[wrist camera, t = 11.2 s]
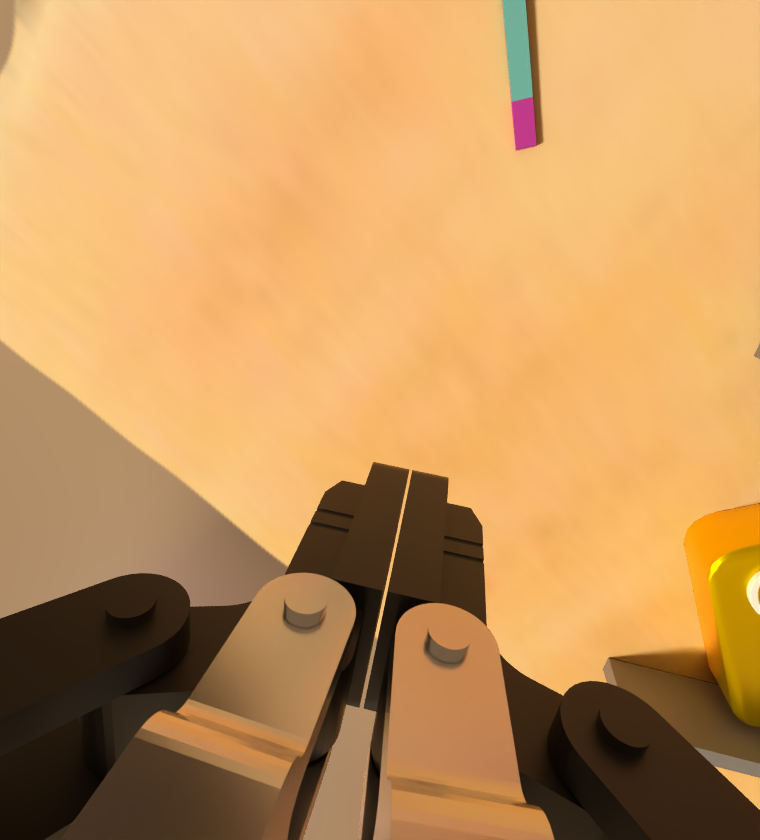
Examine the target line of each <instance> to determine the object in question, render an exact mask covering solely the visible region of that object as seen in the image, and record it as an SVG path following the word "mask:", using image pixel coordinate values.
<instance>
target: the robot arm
mask: <svg viewBox="0 0 760 840" xmlns="http://www.w3.org/2000/svg"><path fill="white" fill-rule="evenodd" d="M408 474H409V469H404V468H399V467H395V466H390V465H385V464H381V463H376V462H374V463H373V465H372V467H371V470H370V473H369V476H368V479H367V481H366V484H365V485H360V484H356V483H351V482H346V481H341V482H339V483H338V484H336V485H335V486H333V487H332V488H330V489H329V490H327V491H326V492H325V493H324V495H323V497H322V499H321V501H320V504H319V506H318V508H317V511H316V512H315V514H314V516H313V518H312V520H311V523H310V525H309V526H308V528H307V530H306V532H305V534H304V536H303V538H302V540H301V542H300V544H299V546H298V548H297V551H296V553H295V555H294V557H293V559H292V561H291V563H290V565H289V567H288V569H287V571H286V573H285V575H284V576H281V577H278V578H276V579H274V580H272V581H271V582H269V583H267V584H266V585H265V586H264V587H262V588H261V590H260V591H259V592H258V594H257V595H256V596H255V598H254V599H253V601H251V602H248V603H244V604H239V605H231V606H205V607H190V599H189V596H188V594H187V592H186V590H185V589H184V588H183V587H182V586H181V585H180V584H179V583H177V582H176V581H175V580H172V579H170V578H168V577H165V576H162V575H156V574H145V573H140V574H130V575H125V576H120V577H117V578H114V579H111V580H108V581H105V582H102V583H99V584H96V585H94V586H91V587H88V588H85V589H82V590H79V591H77V592H74V593H72V594H68V595H66V596H63V597H60V598H57V599H54V600H52V601H49V602H46V603H43V604H40V605H37V606H34V607H32V608H29V609H26V610H23V611H20V612H18V613H15V614H12V615H9V616H7V617H4V618H1V619H0V840H303V838H304V835H305V831H306V829H307V826H308V823H309V820H310V817H311V813H312V811H313V808H314V805H315V801H316V798H317V796H318V792H319V789H320V786H321V783H322V780H323V777H324V774H325V771H326V768H327V765H328V762H329V759H330V756H331V751H332V746H333V744H334V743H335V741H336V739H337V737H338V735H339V731H340V728H341V724H342V720H343V715H344V711H345V707H346V704H347V705H351V706H355V707H360V702H361V697H362V693H363V688H364V683H365V678H366V674H367V669H368V665H369V660H370V655H371V651H372V646H373V641H374V637H375V632H376V627H377V623H378V618H379V613H380V609H381V604H382V599H383V595H384V590H385V585H386V581H387V576H388V571H389V567H390V562H391V557H392V552H393V547H394V543H395V538H396V533H397V528H398V523H399V518H400V513H401V508H402V503H403V498H404V493H405V488H406V484H407V479H408ZM447 495H448V478H447V477H442V476H438V475H433V474H428V473H424V472H419V471H414V470H412V475H411V480H410V485H409V490H408V495H407V500H406V504H405V509H404V514H403V519H402V524H401V529H400V534H399V538H398V543H397V548H396V553H395V558H394V563H393V568H392V572H391V577H390V582H389V587H388V592H387V597H386V602H385V607H384V611H383V616H382V621H381V626H380V631H379V636H378V641H377V646H376V650H375V656H374V660H373V665H372V670H371V675H370V680H369V684H368V689H367V694H366V699H365V704H364V709H368V710H372V711H376V718H375V723H374V729H373V734H372V740H371V744H370V748H369V753H368V757H367V762H366V768H365V778H364V788H363V797H362V807H361V817H360V826H359V836H358V840H760V810H759V809H758V808H757V807H756V806H755V805H754V804H753V803H752V802H751V801H750V800H749V799H747V798H746V797H745V796H744V795H743V794H742V793H741V792H740V791H739V790H738V789H737V788H736V787H735V786H734V785H733V784H732V783H731V782H730V781H729V780H728V779H727V778H726V777H725V776H723V775H722V774H721V773H720V772H719V771H718V770H717V769H716V768H715V767H714V766H713V765H712V764H711V763H710V762H709V761H708V760H707V759H706V758H705V757H704V756H703V755H702V754H701V753H699V752H698V751H697V750H696V749H695V748H694V747H693V746H692V745H691V744H690V743H689V742H688V741H687V740H686V739H685V738H684V737H683V736H682V735H681V734H680V733H679V732H678V731H677V730H675V729H674V728H673V727H672V726H671V725H670V724H669V723H668V722H667V721H666V720H665V719H664V718H663V717H662V716H661V715H660V714H659V713H658V712H657V711H656V710H654V709H653V708H652V707H651V706H650V705H649V704H647V703H646V702H645V701H643V700H642V699H640V698H639V697H638V696H636V695H634V694H632V693H631V692H629V691H627V690H625V689H623V688H620V687H618V686H615V685H612V684H609V683H604V682H598V681H587V682H581V683H578V684H575V685H574V686H572V687H571V688H569V689H568V691H567V692H566V693H565V694H564V696H563V695H561V694H559V693H557V692H555V691H553V690H551V689H549V688H547V687H545V686H544V685H542V684H540V683H538V682H536V681H534V680H532V679H530V678H529V677H527V676H525V675H523V674H522V673H520V672H519V671H518V670H516V669H515V668H514V667H513V666H511V665H510V664H509V663H508V662H507V661H506V660H505V659H504V658H503V657H502V656H501V655H500V653H499V648H498V644H497V642H496V640H495V638H494V636H493V634H492V633H491V631H490V630H489V629H488V628H487V624H486V602H485V579H484V563H483V560H484V556H483V548H482V547H483V533H482V525H481V523H480V522H479V520H478V519H477V517H476V516H475V514H474V513H473V511H472V509H471V508H467V507H463V506H458V505H454V504H449V503H447Z"/></svg>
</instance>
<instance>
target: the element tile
mask: <svg viewBox="0 0 760 840" xmlns="http://www.w3.org/2000/svg"><path fill="white" fill-rule="evenodd" d="M684 547H685V552H686V557H687V562H688V567H689V572H690V577H691V582H692V587H693V592H694V597H695V602H696V606H697V611H698V616H699V621H700V626H701V631H702V636H703V641H704V646H705V651H706V656H707V661H708V665H709V667H710V669H711V671H712V673H713V675H714V677H715V679H716V681H717V683H718V685H719V687H720V689H721V690H722V692H723V694H724V696H725V698H726V700H727V702H728V704H729V706H730V707H731V709H732V711H733V713H734V714H735V715H736V716H737V717H738V719H739V720H740V721H741V722H743V723H746V724H748V725H750V726H756V727H760V503H759V504H754V505H749V506H744V507H739V508H734V509H729V510H724V511H719V512H715V513H712V514H709V515H706V516H704V517H702V518H700V519H698V520H697V521H695V522H694V523H693V524H692V525H691V526H690V527H689V528H688V529H687V532H686V536H685V539H684Z"/></svg>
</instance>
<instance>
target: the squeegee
mask: <svg viewBox="0 0 760 840" xmlns="http://www.w3.org/2000/svg"><path fill="white" fill-rule="evenodd" d="M502 2H503V13H504V24H505V35H506V46H507V57H508V68H509V79H510V93H511V104H512V115H513V125H514V136H515V147H516V150H521V149H525V148H530V147H534V146H537V144H536V131H535V118H534V105H533V91H532V78H531V65H530V52H529V39H528V26H527V13H526V0H502Z"/></svg>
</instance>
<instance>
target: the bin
mask: <svg viewBox="0 0 760 840" xmlns="http://www.w3.org/2000/svg"><path fill="white" fill-rule="evenodd" d="M754 356H755V357H757V358H759V359H760V345H759V347H758V349H757V351H756V353H755V355H754ZM603 670H604V674H605V677H606V681H607V683H609V684H612V685H615V686H618V687H620V688H623V689H625V690H627V691H629V692H631V693H632V694H634V695H636V696H638V697H639V698H640V699H642V700H643V701H645V702H646V703H647V704H649V705H650V706H651V707H652V708H653V709H654V710H656V711H657V712H658V713H659V714H660V715H661V716H662V717H663V718H664V719H665V720H666V721H667V722H668V723H669V724H670V725H671V726H672V727H673V728H674V729H675V730H677V731H678V732H679V733H680V734H681V735H682V736H683V737H684V738H685V739H686V740H687V741H688V742H689V743H690V744H691V745H692V746H693V747H694V748H695V749H696V750H697V751H698V752H699V753H701V754H702V755H703V756H704V757H705V758H706V759H707V760H708V761H709V762H710V763H711V764H712V765H713V766H716V767H720V768H724V769H728V770H732V771H736V772H740V773H743V774H747V775H751V776H755V777H759V778H760V727H756V726H750V725H748V724H746V723H743V722H741V721H740V720H739V719H738V717H737V716H736V715H735V714H734V713H733V711H732V709H731V707H730V706H729V704H728V702H727V700H726V698H725V696H724V694H723V692H722V690H721V689H720V687H719V685H717V684H713V683H709V682H705V681H701V680H696V679H692V678H688V677H684V676H680V675H676V674H672V673H668V672H664V671H660V670H656V669H652V668H648V667H644V666H640V665H635V664H631V663H627V662H623V661H619V660H615V659H611V658H608V660H607V662H606V664H605V666H604V668H603Z"/></svg>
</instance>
